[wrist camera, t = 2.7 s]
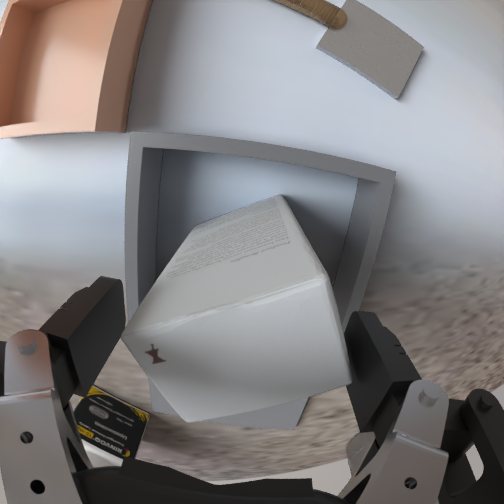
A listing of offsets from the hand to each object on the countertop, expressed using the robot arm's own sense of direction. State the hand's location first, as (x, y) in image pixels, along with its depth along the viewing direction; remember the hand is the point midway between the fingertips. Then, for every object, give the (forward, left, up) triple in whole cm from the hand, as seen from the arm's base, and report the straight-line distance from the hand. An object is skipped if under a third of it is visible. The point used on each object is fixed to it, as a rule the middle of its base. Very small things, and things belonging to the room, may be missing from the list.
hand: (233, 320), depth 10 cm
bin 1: (+15, -12, -10) cm, 21 cm away
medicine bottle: (+12, +22, -10) cm, 27 cm away
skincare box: (0, 0, -10) cm, 10 cm away
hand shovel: (-2, -16, -10) cm, 19 cm away
